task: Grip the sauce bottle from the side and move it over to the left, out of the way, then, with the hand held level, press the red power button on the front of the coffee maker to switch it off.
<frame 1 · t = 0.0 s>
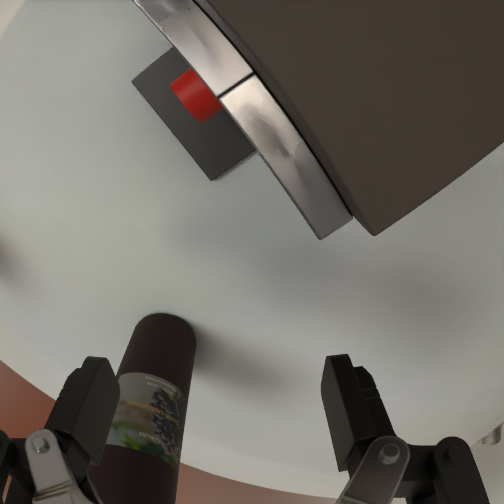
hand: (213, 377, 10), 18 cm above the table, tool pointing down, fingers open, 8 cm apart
power button: (199, 92, 16), point 7 cm above the table, slide at 0.0 cm
coffee maker: (236, 81, 22), on the table
wine bottle: (166, 335, 33), on the table
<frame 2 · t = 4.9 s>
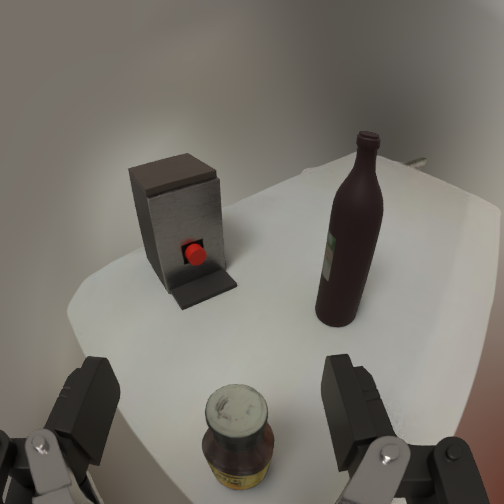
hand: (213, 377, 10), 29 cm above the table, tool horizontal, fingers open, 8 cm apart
power button: (195, 254, 52), point 7 cm above the table, slide at 0.0 cm
coffee maker: (194, 277, 58), on the table
sauce bottle: (241, 470, 30), on the table
wine bottle: (334, 313, 51), on the table
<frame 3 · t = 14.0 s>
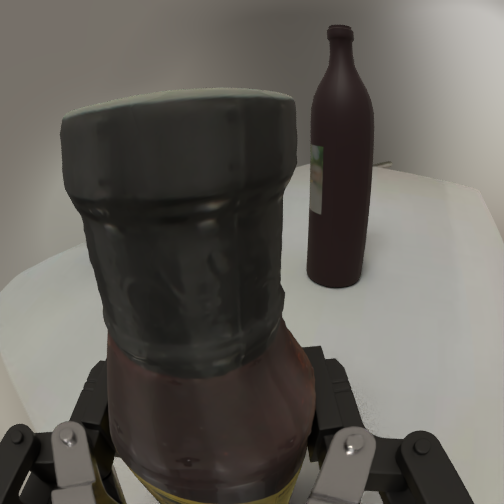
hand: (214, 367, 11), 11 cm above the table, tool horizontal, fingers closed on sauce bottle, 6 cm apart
wine bottle: (333, 275, 39), on the table
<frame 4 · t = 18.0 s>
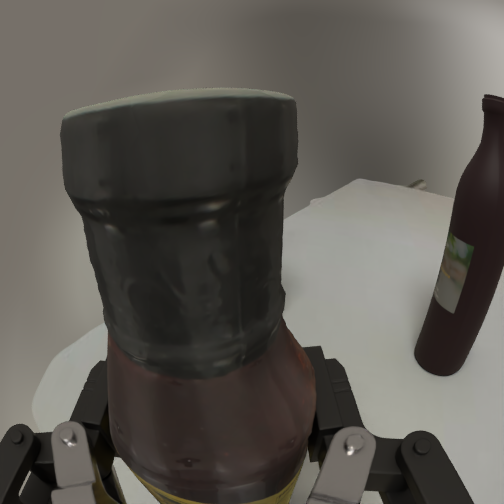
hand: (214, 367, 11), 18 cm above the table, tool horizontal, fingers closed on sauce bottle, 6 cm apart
wine bottle: (438, 358, 31), on the table
when the fingers open (11 cm above the table, at t = 22.2 s): sauce bottle stays where it is, on the table.
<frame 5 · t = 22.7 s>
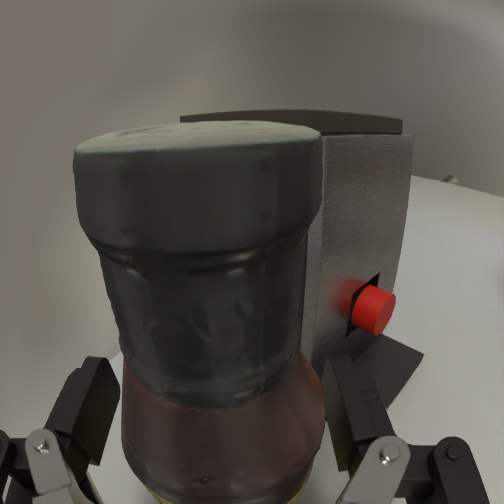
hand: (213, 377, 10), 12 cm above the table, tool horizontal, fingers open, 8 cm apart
power button: (374, 310, 21), point 7 cm above the table, slide at 0.0 cm
coffee maker: (335, 362, 25), on the table
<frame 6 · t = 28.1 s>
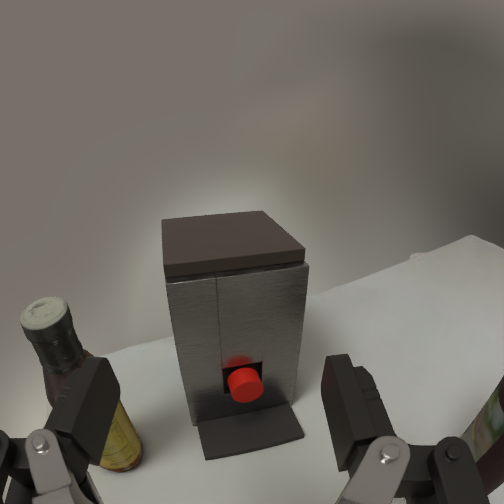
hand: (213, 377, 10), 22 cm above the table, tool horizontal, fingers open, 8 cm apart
power button: (245, 385, 29), point 7 cm above the table, slide at 0.0 cm
coffee maker: (240, 408, 34), on the table
sauce bottle: (119, 454, 26), on the table
wine bottle: (441, 496, 19), on the table
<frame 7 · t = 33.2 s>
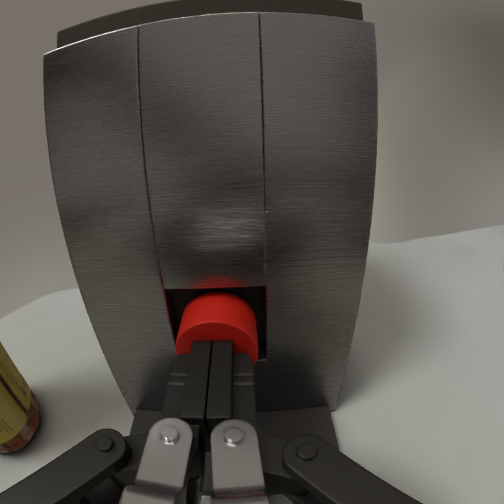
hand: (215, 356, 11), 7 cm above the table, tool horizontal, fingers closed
power button: (217, 337, 12), point 7 cm above the table, slide at -0.3 cm, touching gripper
coffee maker: (231, 399, 17), on the table
sauce bottle: (10, 426, 13), on the table
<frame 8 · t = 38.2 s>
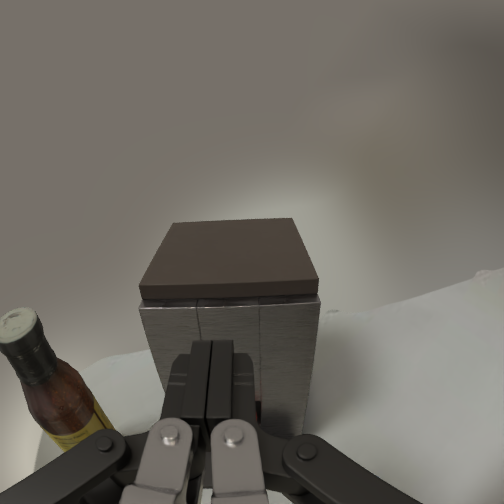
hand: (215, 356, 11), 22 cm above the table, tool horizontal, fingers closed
power button: (238, 422, 24), point 7 cm above the table, slide at 0.0 cm
coffee maker: (242, 437, 29), on the table
sauce bottle: (105, 460, 25), on the table
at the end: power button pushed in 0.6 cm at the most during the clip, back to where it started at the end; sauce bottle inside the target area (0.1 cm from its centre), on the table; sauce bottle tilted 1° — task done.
